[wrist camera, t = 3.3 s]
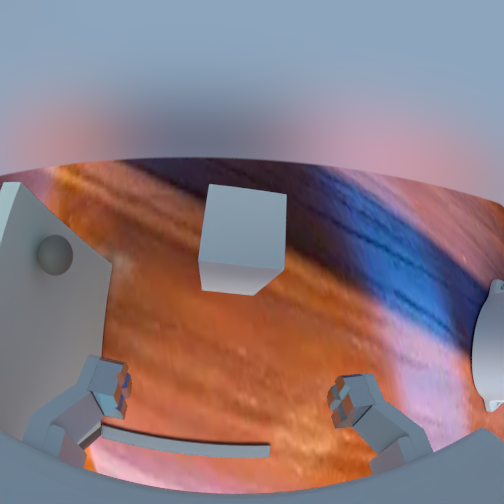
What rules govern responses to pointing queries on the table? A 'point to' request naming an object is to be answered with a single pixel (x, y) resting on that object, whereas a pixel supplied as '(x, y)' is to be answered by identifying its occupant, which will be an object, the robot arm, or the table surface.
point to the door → (45, 308)
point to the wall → (185, 445)
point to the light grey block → (241, 239)
